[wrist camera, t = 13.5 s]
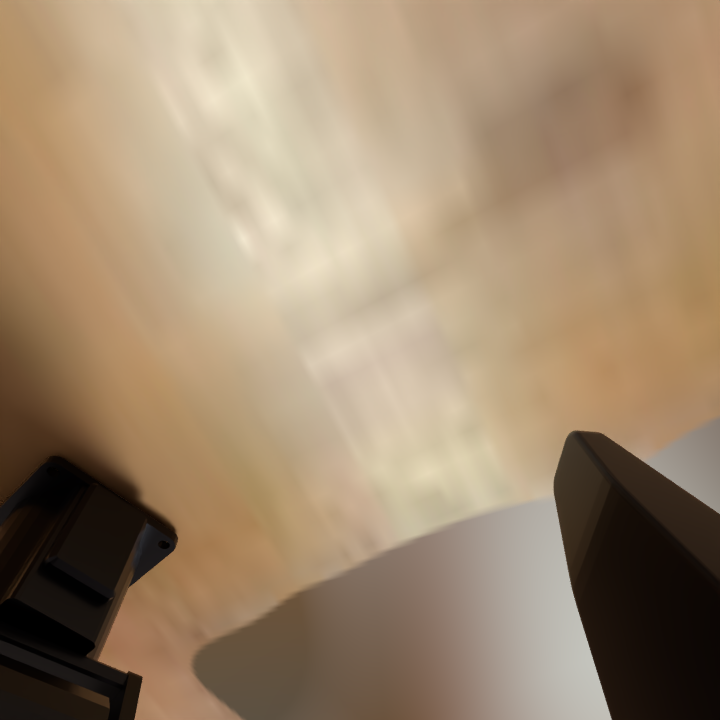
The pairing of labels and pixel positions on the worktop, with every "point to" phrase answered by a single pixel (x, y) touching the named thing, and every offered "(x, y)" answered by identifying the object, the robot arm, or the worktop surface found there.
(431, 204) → the worktop surface
